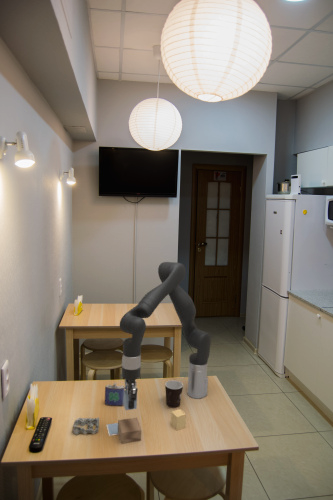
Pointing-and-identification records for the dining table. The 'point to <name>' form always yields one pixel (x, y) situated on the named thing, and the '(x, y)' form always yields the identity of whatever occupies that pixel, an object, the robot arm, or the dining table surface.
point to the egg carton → (83, 422)
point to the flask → (114, 395)
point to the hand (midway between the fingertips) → (129, 404)
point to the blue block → (126, 401)
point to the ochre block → (178, 419)
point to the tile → (112, 429)
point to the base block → (129, 430)
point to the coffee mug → (173, 393)
